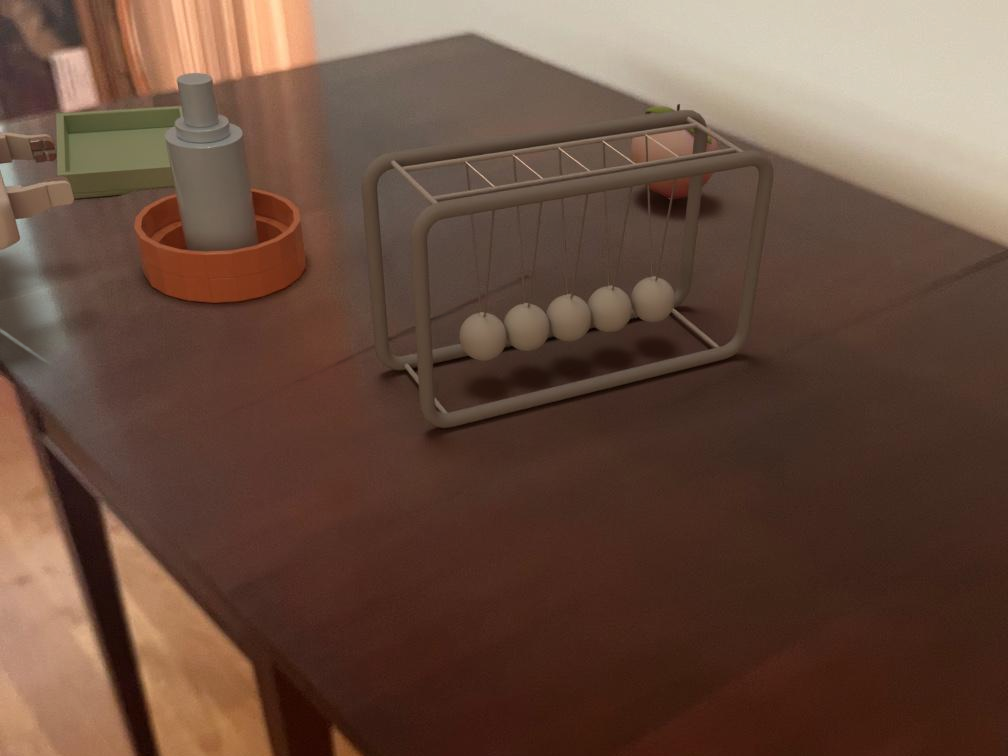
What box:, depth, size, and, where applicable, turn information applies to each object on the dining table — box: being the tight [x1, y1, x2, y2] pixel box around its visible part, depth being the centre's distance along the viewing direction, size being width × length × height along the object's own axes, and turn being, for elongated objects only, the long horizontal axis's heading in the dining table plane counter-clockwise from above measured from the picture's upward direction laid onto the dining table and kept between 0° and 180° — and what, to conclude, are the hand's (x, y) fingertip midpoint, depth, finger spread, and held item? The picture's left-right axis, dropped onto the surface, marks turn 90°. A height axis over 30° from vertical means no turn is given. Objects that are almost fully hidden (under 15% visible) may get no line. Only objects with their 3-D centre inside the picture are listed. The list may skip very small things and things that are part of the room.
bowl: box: [133, 188, 307, 304], centre depth 106 cm, size 14×14×5 cm
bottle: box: [165, 72, 259, 252], centre depth 101 cm, size 6×6×16 cm
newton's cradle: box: [361, 109, 774, 429], centre depth 92 cm, size 30×10×18 cm, turn 119°
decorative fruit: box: [630, 103, 720, 200], centre depth 121 cm, size 9×8×10 cm
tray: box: [55, 105, 183, 200], centre depth 124 cm, size 18×14×2 cm
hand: (62, 167), depth 96 cm, fingers open, 8 cm apart
